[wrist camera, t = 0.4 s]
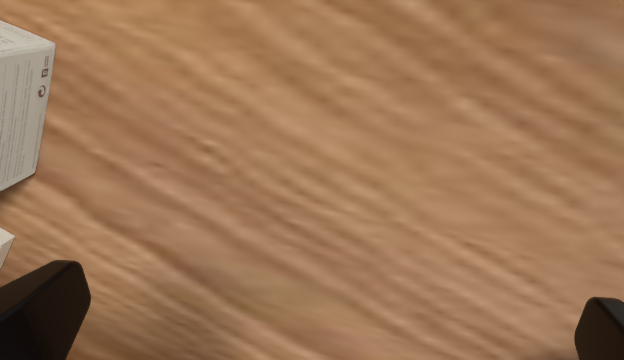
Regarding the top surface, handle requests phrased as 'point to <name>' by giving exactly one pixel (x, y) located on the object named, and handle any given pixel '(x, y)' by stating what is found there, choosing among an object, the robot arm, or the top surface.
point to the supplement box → (22, 100)
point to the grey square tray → (5, 244)
